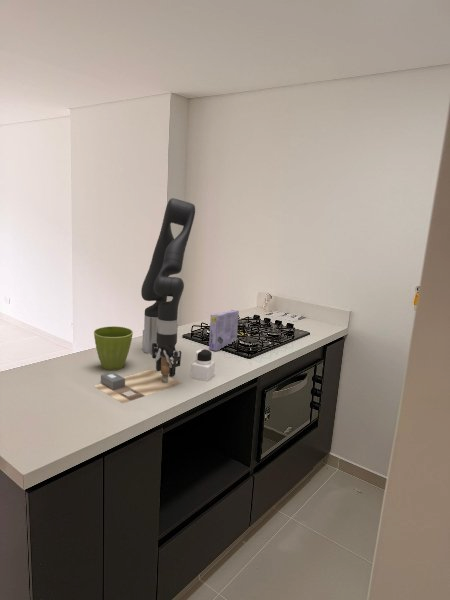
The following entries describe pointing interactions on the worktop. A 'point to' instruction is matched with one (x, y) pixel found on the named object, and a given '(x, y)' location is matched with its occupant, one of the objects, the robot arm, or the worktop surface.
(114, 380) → the block
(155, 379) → the subfloor panel
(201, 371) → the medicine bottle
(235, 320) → the cake pan box
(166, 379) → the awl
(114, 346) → the flower pot
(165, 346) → the robot arm
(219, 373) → the worktop surface
